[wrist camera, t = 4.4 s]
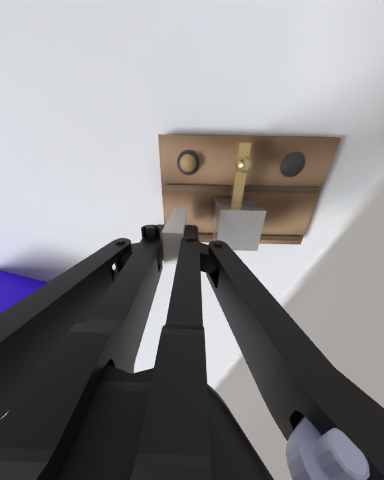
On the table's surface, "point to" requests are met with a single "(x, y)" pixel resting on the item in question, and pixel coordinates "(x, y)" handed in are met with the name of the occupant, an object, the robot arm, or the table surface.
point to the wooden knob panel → (257, 179)
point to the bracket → (16, 289)
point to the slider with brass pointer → (238, 209)
